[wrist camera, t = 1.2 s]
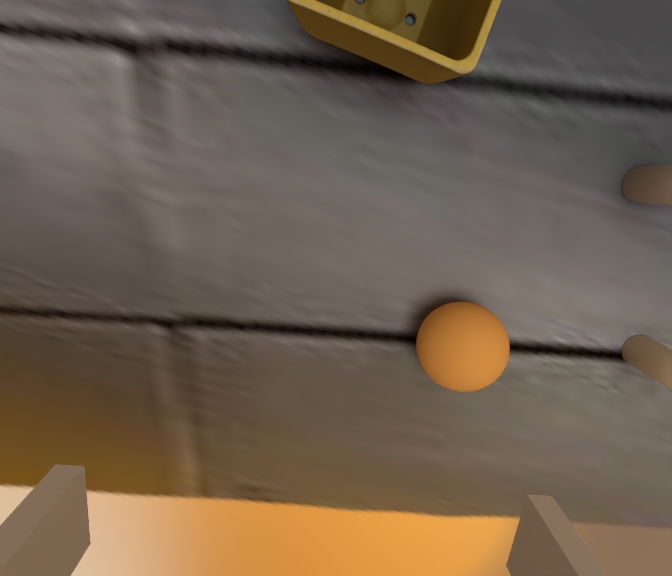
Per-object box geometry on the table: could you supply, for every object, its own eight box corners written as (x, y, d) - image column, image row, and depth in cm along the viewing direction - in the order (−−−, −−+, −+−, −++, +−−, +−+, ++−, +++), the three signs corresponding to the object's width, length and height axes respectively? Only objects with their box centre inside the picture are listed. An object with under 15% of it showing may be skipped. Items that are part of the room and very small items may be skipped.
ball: (402, 361, 31) (420, 405, 25) (416, 286, 29) (439, 315, 23) (478, 369, 31) (513, 414, 25) (496, 295, 30) (537, 325, 24)
